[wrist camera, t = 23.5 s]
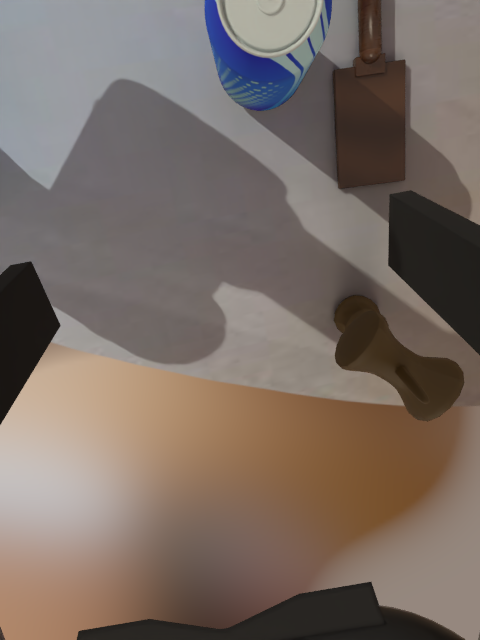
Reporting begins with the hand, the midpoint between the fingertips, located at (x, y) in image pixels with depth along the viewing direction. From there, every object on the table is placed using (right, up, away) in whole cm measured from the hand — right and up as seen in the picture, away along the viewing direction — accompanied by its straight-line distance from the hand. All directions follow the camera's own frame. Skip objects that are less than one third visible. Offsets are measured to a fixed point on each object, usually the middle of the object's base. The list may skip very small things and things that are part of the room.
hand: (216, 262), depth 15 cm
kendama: (+14, -1, +33) cm, 36 cm away
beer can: (+3, +23, +25) cm, 34 cm away
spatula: (+13, +24, +24) cm, 37 cm away
